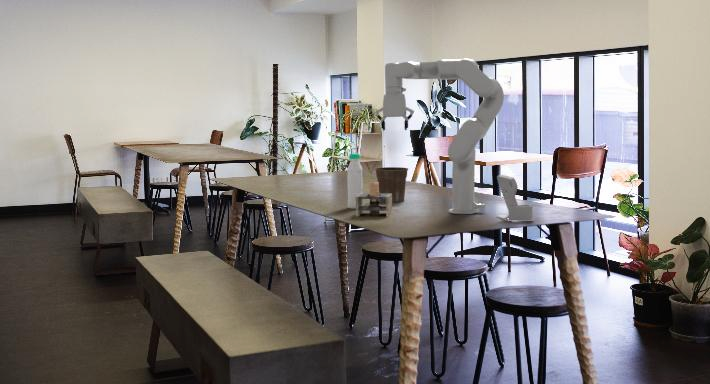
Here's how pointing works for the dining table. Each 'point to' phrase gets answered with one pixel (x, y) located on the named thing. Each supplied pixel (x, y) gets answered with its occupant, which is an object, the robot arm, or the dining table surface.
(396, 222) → the dining table surface
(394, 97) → the robot arm
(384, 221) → the dining table surface
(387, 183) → the plant pot
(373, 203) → the tan cylinder
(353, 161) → the water bottle
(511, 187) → the phone holder
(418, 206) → the dining table surface
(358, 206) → the collar stand
